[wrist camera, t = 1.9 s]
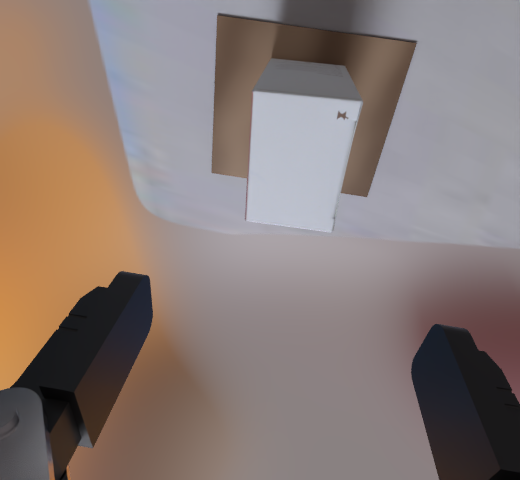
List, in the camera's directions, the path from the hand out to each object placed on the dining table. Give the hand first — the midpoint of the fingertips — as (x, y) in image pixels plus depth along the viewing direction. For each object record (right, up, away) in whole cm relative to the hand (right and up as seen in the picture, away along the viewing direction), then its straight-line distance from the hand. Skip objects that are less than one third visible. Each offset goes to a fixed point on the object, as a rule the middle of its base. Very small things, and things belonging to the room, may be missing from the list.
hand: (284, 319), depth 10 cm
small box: (+3, +12, +18) cm, 22 cm away
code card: (+3, +12, +18) cm, 22 cm away
